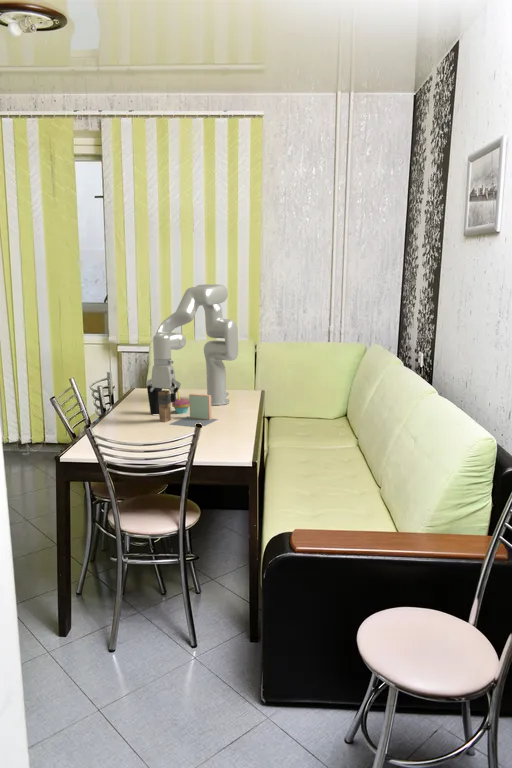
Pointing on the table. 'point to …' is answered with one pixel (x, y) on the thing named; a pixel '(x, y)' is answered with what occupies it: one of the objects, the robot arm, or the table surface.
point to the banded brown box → (164, 405)
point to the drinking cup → (153, 404)
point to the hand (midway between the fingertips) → (163, 401)
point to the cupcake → (181, 405)
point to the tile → (200, 406)
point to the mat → (192, 422)
